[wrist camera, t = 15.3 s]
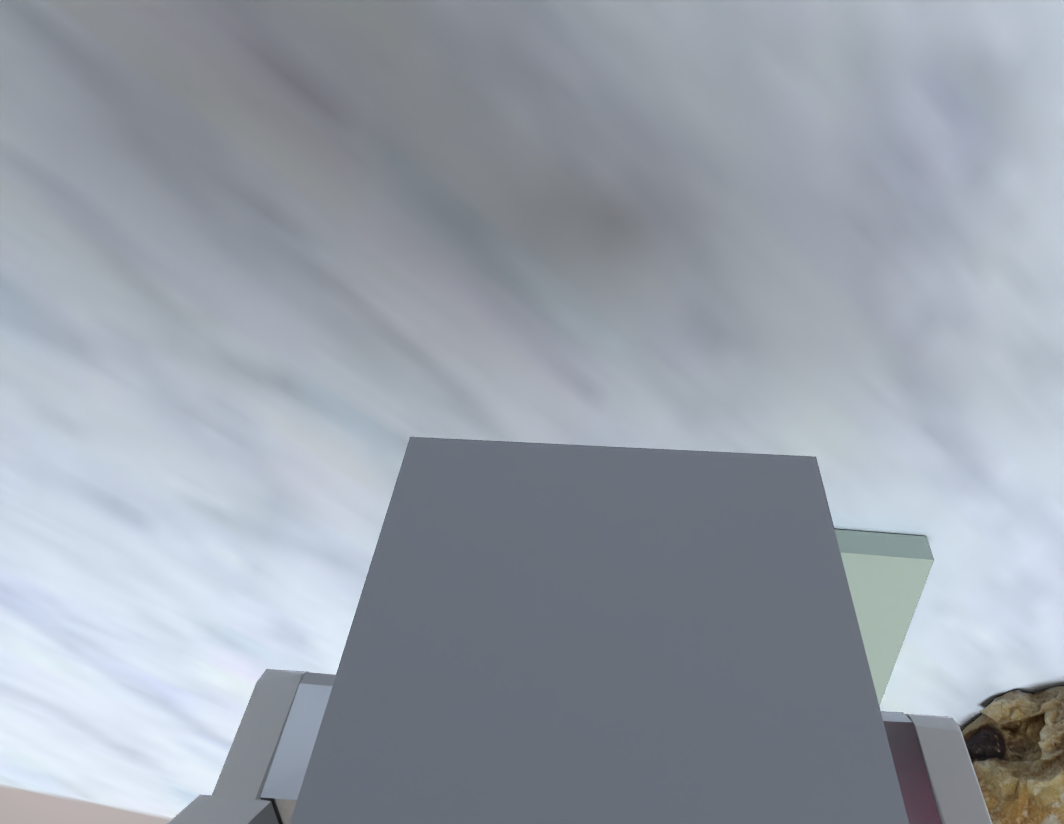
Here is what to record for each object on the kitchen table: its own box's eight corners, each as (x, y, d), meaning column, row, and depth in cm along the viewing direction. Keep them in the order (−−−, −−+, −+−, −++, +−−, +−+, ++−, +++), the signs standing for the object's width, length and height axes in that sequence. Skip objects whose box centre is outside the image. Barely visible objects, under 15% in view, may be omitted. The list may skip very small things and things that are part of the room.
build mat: (516, 737, 37) (512, 763, 36) (509, 503, 29) (504, 529, 28) (841, 771, 35) (846, 800, 34) (926, 536, 28) (935, 565, 27)
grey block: (439, 680, 14) (343, 1155, 10) (410, 437, 11) (248, 954, 6) (756, 702, 14) (822, 1207, 9) (815, 457, 11) (960, 1023, 6)
